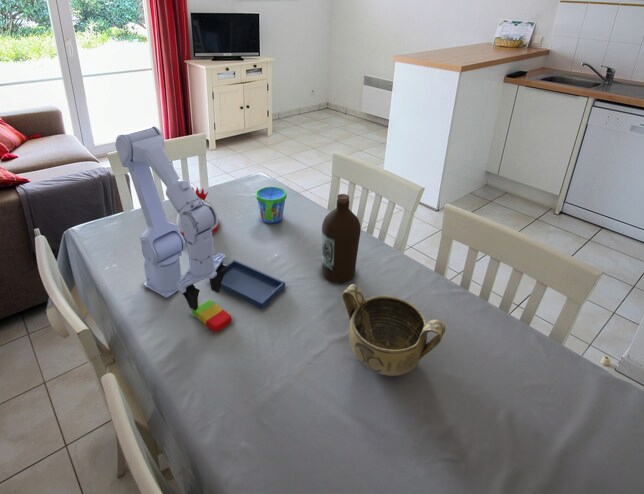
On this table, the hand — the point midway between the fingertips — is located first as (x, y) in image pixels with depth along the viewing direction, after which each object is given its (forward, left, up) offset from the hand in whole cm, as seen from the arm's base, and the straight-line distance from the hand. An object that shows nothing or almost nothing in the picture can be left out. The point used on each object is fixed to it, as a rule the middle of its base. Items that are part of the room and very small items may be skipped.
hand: (204, 299), depth 106 cm
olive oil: (+20, +33, -5) cm, 39 cm away
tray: (+2, +14, -4) cm, 15 cm away
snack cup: (-14, +47, -5) cm, 49 cm away
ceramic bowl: (+43, +12, -5) cm, 45 cm away
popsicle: (0, 0, -5) cm, 5 cm away
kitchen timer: (-31, +28, -5) cm, 42 cm away
